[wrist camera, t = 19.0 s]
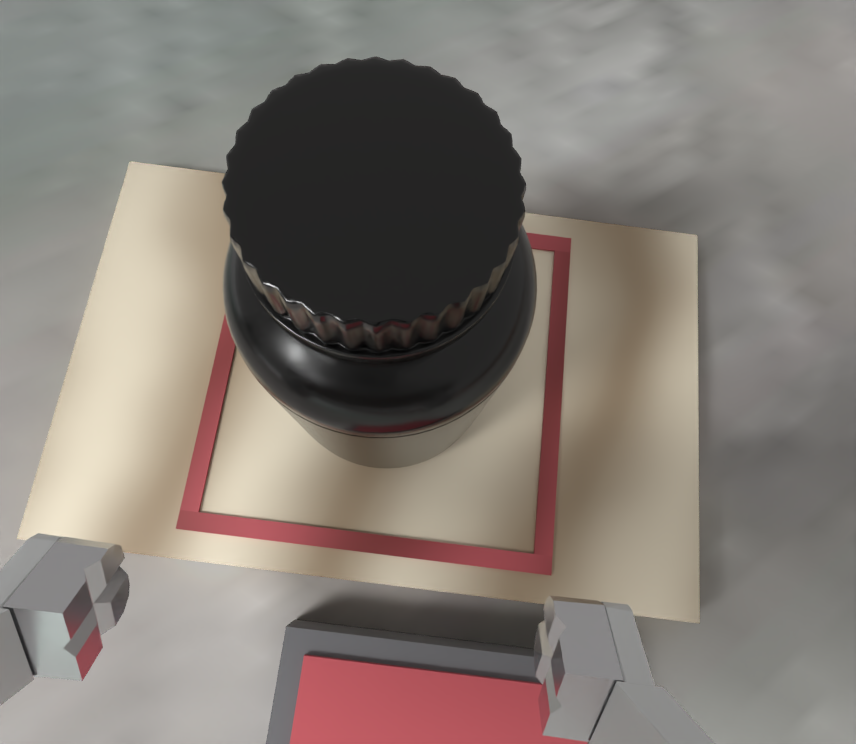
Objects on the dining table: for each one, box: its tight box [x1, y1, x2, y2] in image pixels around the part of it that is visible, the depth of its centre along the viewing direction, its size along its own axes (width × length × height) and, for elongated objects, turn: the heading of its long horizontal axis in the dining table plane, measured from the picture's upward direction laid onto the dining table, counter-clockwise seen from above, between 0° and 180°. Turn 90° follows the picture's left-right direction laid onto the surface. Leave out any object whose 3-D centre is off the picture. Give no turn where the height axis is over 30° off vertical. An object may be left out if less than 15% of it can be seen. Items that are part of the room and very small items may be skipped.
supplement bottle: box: [222, 57, 537, 469], centre depth 15 cm, size 7×7×12 cm
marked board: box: [17, 161, 700, 624], centre depth 21 cm, size 22×14×1 cm, turn 83°
